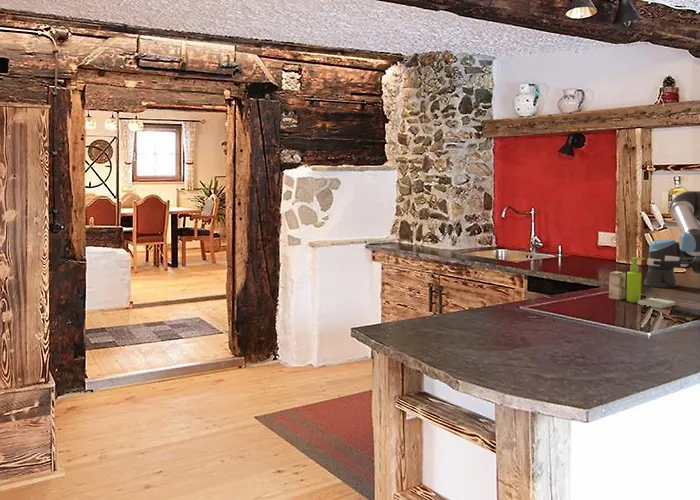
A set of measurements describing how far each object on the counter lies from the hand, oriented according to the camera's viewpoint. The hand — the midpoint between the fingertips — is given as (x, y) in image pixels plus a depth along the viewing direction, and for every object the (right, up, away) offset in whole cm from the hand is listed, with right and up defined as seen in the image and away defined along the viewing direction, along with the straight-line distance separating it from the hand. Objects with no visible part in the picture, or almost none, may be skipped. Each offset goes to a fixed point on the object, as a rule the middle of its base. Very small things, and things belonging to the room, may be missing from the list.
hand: (656, 260), depth 291 cm
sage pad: (+1, -20, +2) cm, 20 cm away
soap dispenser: (-5, -19, +11) cm, 22 cm away
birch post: (-10, -18, +18) cm, 27 cm away
